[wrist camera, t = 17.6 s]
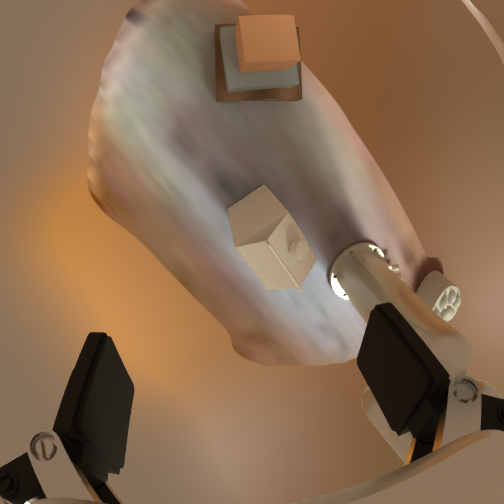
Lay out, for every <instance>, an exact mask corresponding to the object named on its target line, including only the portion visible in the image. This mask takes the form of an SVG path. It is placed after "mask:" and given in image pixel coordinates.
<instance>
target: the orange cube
mask: <svg viewBox="0 0 504 504" xmlns="http://www.w3.org/2000/svg"><path fill="white" fill-rule="evenodd" d="M234 35H235V42H236V50H237V57H238V65H239V72H240V73H244V72H256V71H274V70H287V69H289V68H290V67H292V66H293V65H295V64H296V63H298V62H299V61H301V59H300V52H299V45H298V39H297V32H296V26H295V20H294V16H293V15H245V16H239V17H238V20H237V24H236V28H235V31H234Z"/></svg>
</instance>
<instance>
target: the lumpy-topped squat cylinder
mask: <svg viewBox="0 0 504 504" xmlns="http://www.w3.org/2000/svg"><path fill="white" fill-rule="evenodd" d="M416 294H417V295H418V296H419V297H420V298H421V299H422V300H423V301H424V302H425V303H426V304H427V305H428V306H429V307H430V308H431V309H432V310H433V311H434V312H435V313H436V314H437V315H439V316H440V317H441V318H442V319H444V320H445V321H446V322H447V321H449V320H451V319H452V318H453V316H454V315H455V313H456V311H457V309H458V307H459V306H460V303H461V298H460V291H459V289H458V287H457V286H456V285H455V284H454V283H452V282H451V281H450V280H449V279H448V278H447V277H445V276H444V275H443V274H442V273H441V272H439V271H436V270H434V271H431V272H430V273H428V274H427V275H426V277H425V278H424V279H423V281H422V282H421V284H420V286H419V288H418V290H417V293H416Z"/></svg>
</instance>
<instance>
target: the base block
mask: <svg viewBox="0 0 504 504" xmlns="http://www.w3.org/2000/svg"><path fill="white" fill-rule="evenodd" d="M231 26H236V24H220V25H215V68H216V97H217V102H223V101H248V100H281V101H297V100H301V99H302V81H301V61H299V62H298V63H296V64H297V71H298V78H299V84H298V85H296V86H293V87H291V88H272V89H259V90H248V91H238V92H230V93H227V88H226V80H225V73H224V65H223V58H222V50H221V43H220V29H221V27H231ZM296 32H297V39H298V45H299V52H300V40H299V27H296ZM300 59H301V58H300Z"/></svg>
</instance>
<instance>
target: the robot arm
mask: <svg viewBox="0 0 504 504" xmlns="http://www.w3.org/2000/svg"><path fill="white" fill-rule="evenodd" d="M398 270H399V265H398V264H394V265H389V264H388V263H387V262H386V261H385V256H384V254H383V252H382V250H381V249H379V248H378V247H377V246H376V245H374V244H372V243H368V242H361V243H356V244H354V245H351V246H349V247H348V248H346V249H345V250H344V251H343V252H342V253H340V254H339V256H338V257H337V258H336V259H335V261H334V263H333V265H332V267H331V270H330V276H329V277H330V285H331V287H332V289H333V291H334V292H335V293H336V294H337V295H338V296H339V297H341V298H344V299H349V300H350V301H351V302H352V304H353V305H354V307H355V308H356V309H357V311H358V312H359V314H360V315H361V316H362V318H363V319H364V321H365V322H366V324H367V327H366V330H365V334H364V337H363V341H362V344H361V347H360V350H359V354H358V357H357V365H358V367H359V369H360V371H361V373H362V375H363V377H364V379H365V380H366V382H367V384H368V387H367V388H366V389H365V391H364V392H363V395H362V401H361V402H362V407H363V409H364V412H365V413H366V415H367V417H368V418H369V420H370V421H371V423H372V424H373V425H374V426H375V428H376V429H377V430H378V431H379V433H380V434H381V435H382V436H383V437H384V439H385V440H386V441H387V442H388V443H389V445H390V446H391V447H392V448H393V449H394V451H395V452H396V453H397V454H398V455H399V457H400V458H401V459H402V460H403V461H404V463H405V465H404V466H403V467H401V468H399V469H397V470H394V471H392V472H390V473H388V474H385V475H383V476H380V477H378V478H375V479H372V480H370V481H367V482H365V483H362V484H359V485H356V486H353V487H350V488H347V489H344V490H341V491H338V492H334V493H331V494H327V495H323V496H320V497H316V498H312V499H307V500H303V501H298V502H294V503H289V504H504V399H503V398H502V397H501V395H500V394H499V393H498V392H497V391H496V390H495V388H494V387H493V386H491V385H490V384H489V383H488V382H486V381H485V380H474V379H472V378H471V377H468V376H465V375H466V374H467V372H468V371H469V369H470V367H471V364H472V361H473V348H472V346H471V344H470V342H469V341H468V340H467V338H466V337H465V336H464V335H463V334H462V333H461V332H460V331H458V330H457V329H456V328H454V327H453V326H452V325H450V324H449V323H448V322H446V321H445V320H444V319H442V318H441V317H440V316H439V315H437V314H436V313H435V312H434V311H433V310H432V309H431V308H430V307H429V306H428V305H427V304H426V303H425V302H424V301H423V300H422V299H421V298H420V297H419V296H418V295H417V294H416V293H415V292H414V291H413V290H412V289H411V288H410V287H409V286H407V285H406V284H405V283H404V282H403V281H402V276H401V274H400V273H394V272H393V271H398ZM133 396H134V385H133V382H132V380H131V378H130V377H129V375H128V373H127V371H126V368H125V367H124V364H123V362H122V360H121V358H120V356H119V354H118V351H117V349H116V347H115V345H114V343H113V340H112V338H111V337H109V336H107V334H106V333H103V332H100V333H99V332H91V333H89V335H88V336H87V339H86V341H85V343H84V346H83V348H82V350H81V353H80V355H79V358H78V360H77V363H76V366H75V368H74V369H73V371H72V373H71V376H70V379H69V381H68V384H67V387H66V390H65V392H64V395H63V398H62V401H61V404H60V407H59V410H58V413H57V416H56V420H55V423H54V426H53V430H50V429H47V428H41V429H38V430H36V431H35V432H33V433H32V434H31V436H30V437H29V439H28V441H27V452H26V453H25V454H23V455H21V456H20V457H18V458H16V459H14V460H13V461H11V462H9V463H8V464H6V465H4V466H2V467H1V468H0V504H124V503H123V501H122V500H121V499H120V497H119V496H118V495H117V493H116V492H115V491H114V489H113V488H112V487H111V485H110V484H109V482H108V481H107V479H108V473H113V474H119V471H120V468H123V466H124V461H125V451H126V443H127V435H128V427H129V421H130V414H131V408H132V402H133Z"/></svg>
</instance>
